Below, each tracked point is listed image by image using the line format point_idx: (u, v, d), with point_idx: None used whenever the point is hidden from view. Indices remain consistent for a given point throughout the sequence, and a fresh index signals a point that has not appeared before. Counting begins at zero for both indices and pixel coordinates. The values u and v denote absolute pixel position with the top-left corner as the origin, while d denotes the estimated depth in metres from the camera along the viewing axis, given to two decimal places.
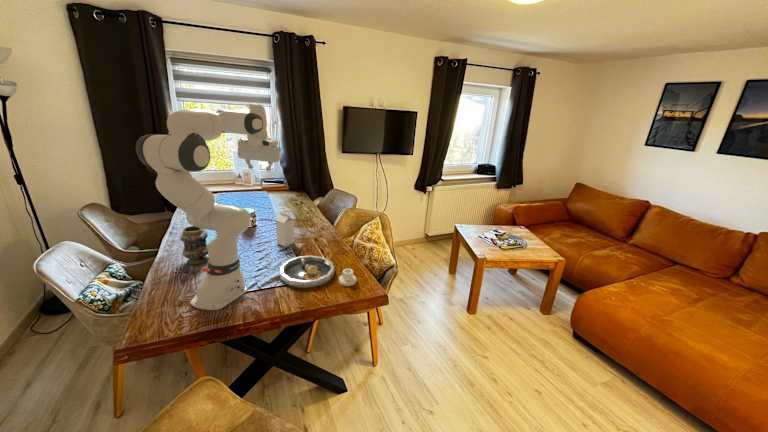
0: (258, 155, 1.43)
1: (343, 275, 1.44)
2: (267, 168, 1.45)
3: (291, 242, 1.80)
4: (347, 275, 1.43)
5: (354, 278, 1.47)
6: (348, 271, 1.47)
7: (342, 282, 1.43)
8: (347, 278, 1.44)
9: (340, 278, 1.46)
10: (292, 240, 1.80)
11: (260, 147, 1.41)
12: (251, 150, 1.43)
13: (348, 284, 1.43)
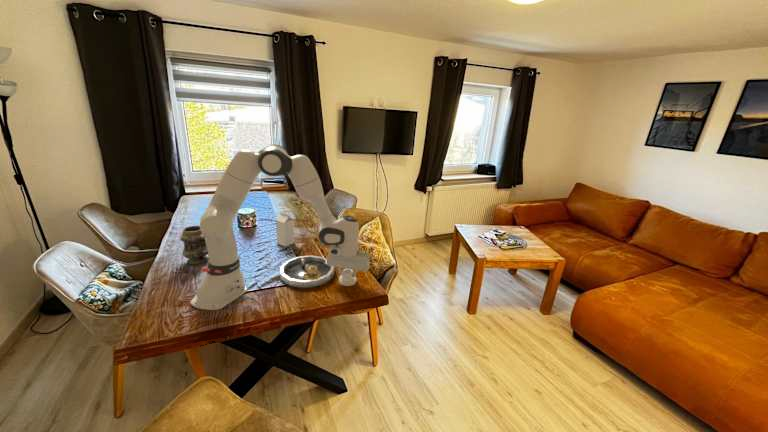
0: None
1: (343, 275, 1.44)
2: None
3: (291, 242, 1.80)
4: (347, 275, 1.43)
5: (354, 278, 1.47)
6: (348, 271, 1.47)
7: (342, 282, 1.43)
8: (347, 278, 1.44)
9: (340, 278, 1.46)
10: (292, 240, 1.80)
11: None
12: None
13: (348, 284, 1.43)
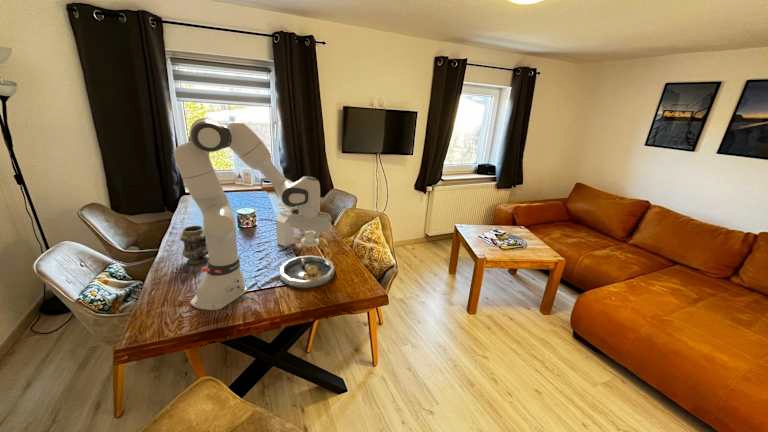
0: None
1: (305, 236, 1.46)
2: None
3: (291, 242, 1.80)
4: (309, 236, 1.45)
5: (317, 240, 1.49)
6: (311, 233, 1.49)
7: (304, 243, 1.45)
8: (309, 239, 1.45)
9: (302, 239, 1.48)
10: (292, 240, 1.80)
11: None
12: None
13: (310, 245, 1.45)
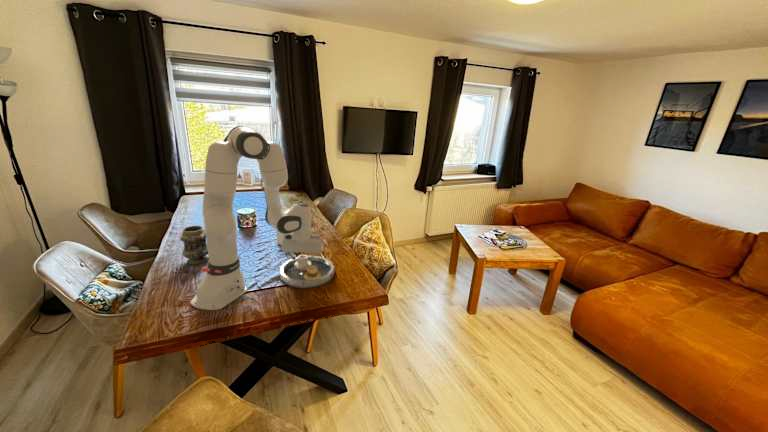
0: None
1: (298, 261, 1.53)
2: None
3: None
4: (302, 260, 1.52)
5: (309, 263, 1.56)
6: (303, 257, 1.56)
7: (298, 267, 1.51)
8: (302, 263, 1.52)
9: (295, 264, 1.54)
10: None
11: None
12: None
13: (304, 268, 1.52)
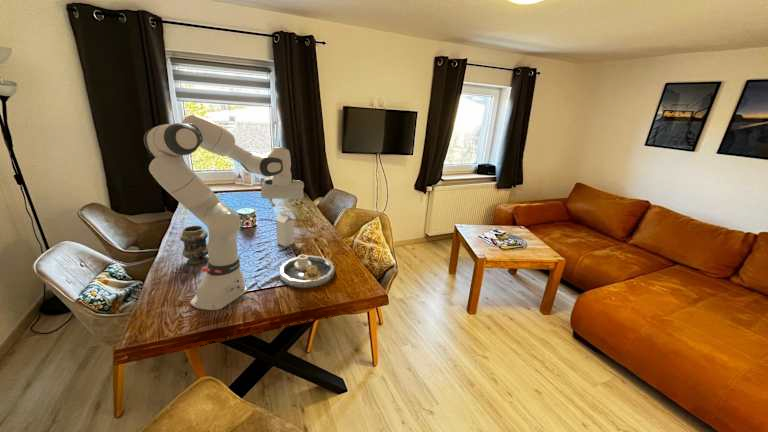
0: None
1: (298, 261, 1.53)
2: None
3: (291, 242, 1.80)
4: (302, 260, 1.52)
5: (309, 263, 1.56)
6: (303, 257, 1.56)
7: (298, 267, 1.51)
8: (302, 263, 1.52)
9: (295, 264, 1.54)
10: (292, 240, 1.80)
11: None
12: None
13: (304, 268, 1.52)
